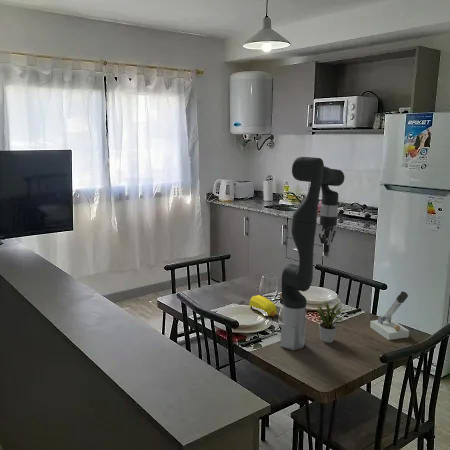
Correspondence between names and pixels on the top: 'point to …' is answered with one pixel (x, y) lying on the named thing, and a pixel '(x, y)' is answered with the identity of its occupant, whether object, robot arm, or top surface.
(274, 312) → the yellow curved elongated piece
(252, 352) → the top surface
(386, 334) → the press base
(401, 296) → the press lever
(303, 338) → the robot arm
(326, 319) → the house plant
